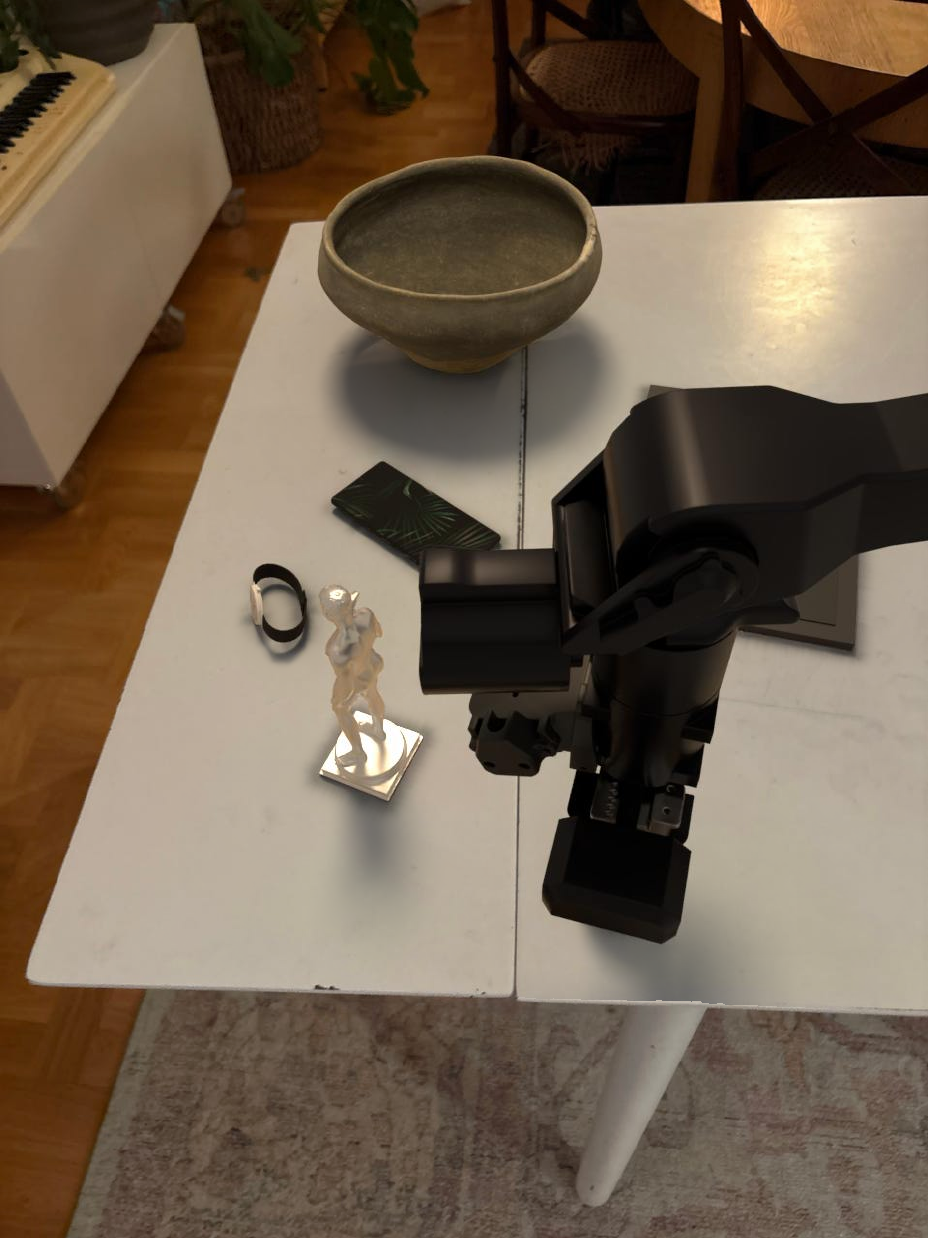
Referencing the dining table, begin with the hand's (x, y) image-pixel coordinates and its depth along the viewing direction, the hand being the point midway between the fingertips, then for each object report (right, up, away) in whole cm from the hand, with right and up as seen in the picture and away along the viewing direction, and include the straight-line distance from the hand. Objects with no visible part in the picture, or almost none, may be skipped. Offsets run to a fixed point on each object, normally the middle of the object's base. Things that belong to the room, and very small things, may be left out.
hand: (628, 817), depth 52 cm
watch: (-25, +12, +24) cm, 36 cm away
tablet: (+15, +22, +28) cm, 38 cm away
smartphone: (-14, +20, +29) cm, 38 cm away
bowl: (-9, +41, +45) cm, 62 cm away
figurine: (-16, +2, +15) cm, 22 cm away
